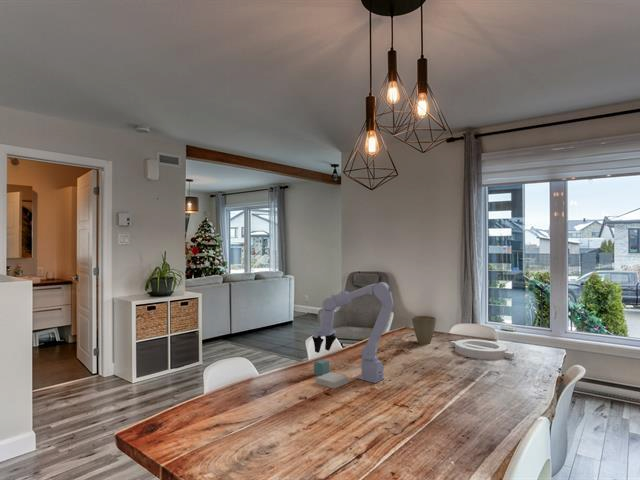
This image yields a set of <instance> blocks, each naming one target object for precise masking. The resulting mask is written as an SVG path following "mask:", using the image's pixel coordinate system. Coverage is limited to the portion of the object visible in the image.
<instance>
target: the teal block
mask: <svg viewBox="0 0 640 480" xmlns="http://www.w3.org/2000/svg"><path fill="white" fill-rule="evenodd" d="M313 365H314V366H313V375H314V376H317V377H319V376H322V375H324V374H327V373H330V361H328V360H325V359H319V360H316V361H314V363H313Z"/></svg>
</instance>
